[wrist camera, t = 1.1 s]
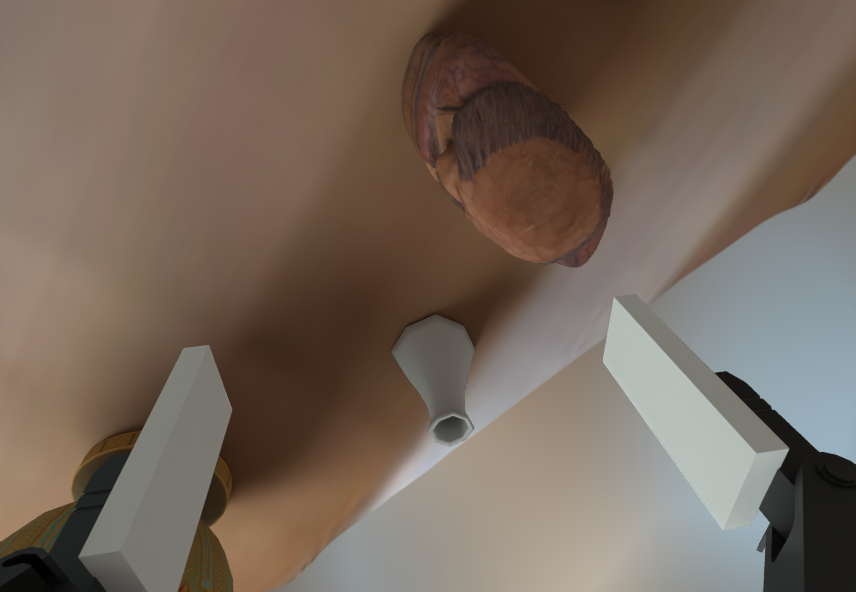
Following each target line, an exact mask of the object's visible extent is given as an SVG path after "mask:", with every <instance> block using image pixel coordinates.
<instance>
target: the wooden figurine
mask: <svg viewBox="0 0 856 592" xmlns="http://www.w3.org/2000/svg"><path fill="white" fill-rule="evenodd" d="M402 110H403V116H404V120H405V124H406V128H407V130H408V133H409V135H410V137H411V139H412V141H413V143H414V145H415V147H416V149H417V151H418V152H419V154H420V155H421V158H422V160H423V161H424V164H425V165H426V167H427V168H428V170H429V171H430V173H431V174H432V176H433V177H434V178H435V179H436V180H437V181H438V182H439V183H440V184H441V186H442V188H443V189H444V191H445V194H446V195H447V196H448V197H449V198H450V199H451V201H452V202H454V203H455V204H456V205H457V206H458V207H460V208H462V209H463V210H464V213H465V216H466V217H467V218H468V219H469V220H470V221H471V222H472V223H473V224H474V226H475V227H476V228H477V229H478V230H479V231H480V232H481V233H483V234H484V235H486V236H487V237H488V238H490V239H491V240H493V241H494V242H495V243H496V244H498V245H499V246H501V247H502V248H503V249H505V250H506V251H507V252H508V253H510V254H512V255H514V256H516V257H519V258H521V259H524V260H528V261H531V262H538V263H541V264H544V265H546V264H548V263H555V262H557V263H559V264H561V265H565V266H568V267H580V266H582V265H583V264H585V263H586V262H587V261H588V260H589V259H590V257H591V256H592V255H593V253H594V252H595V250H596V248H597V246H598V244H599V242H600V240H601V238H602V235H603V233H604V230H605V228H606V224H607V220H608V217H609V216H610V209H611V204H612V200H613V183H612V180H611V178H610V169H609V168H608V166H607V165H606V164H605V161H604V160H603V159H602V157H601V156H600V153H599V152H598V151H597V150H596V149H595V148H594V146H593V144H592V142H591V140H590V139H589V138H588V137H587V136H586V135H585V134H584V133H583V131H582V130H581V129H580V128H579V127H578V126H577V125H576V124H575V122H574V121H572V120H571V119H570V117H569V116H568V114H567V113H566V111H564V110H562V108H561V107H560V106H559V105H558V104H557V103H554V102H552V101H551V100H550V99H549V98H548V97H547V96H546V95H545V94H544V93H542V92H541V91H540V90H539V89H538V88H537V87H536V86H535V85H534V84H532V83H531V82H530V81H529V80H528V79H527V78H526V77H525V76H524V75H523V74H522V73H521V72H520V71H519V70H518V69H517V68H516V67H515V66H514V65H513V64H512V63H511V62H510V61H508V60H507V59H506V58H504V57H503V56H502V55H500V54H499V53H498V52H497V51H496V50H495V49H493V48H492V47H491V46H490V45H488V44H487V43H486V42H484V41H483V40H482V39H479V38H475V37H473V36H470V35H468V34H466V33H462V32H457V33H453V34H451V35H449V36H448V37H447V38H446V37H445V36H443V35H442V34H440V33H429V34H427V35H425V36H424V37H423V38H422V39H421V40H420V41H419V42H418V43H417V45H416V46H415V47H414V49H413V52H412V54H411V56H410V59H409V61H408V65H407V68H406V72H405V76H404V80H403V85H402Z"/></svg>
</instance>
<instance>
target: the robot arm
mask: <svg viewBox="0 0 856 592" xmlns="http://www.w3.org/2000/svg"><path fill="white" fill-rule="evenodd" d="M603 363H604V364H605V365H606V367H607V368H608V370H609V371H610V372H611V374H612V375H613V377H614V378H615V379H616V381H617V382H618V384H619V385H620V387H621V388H622V389H623V391H624V392H625V394H626V395H627V396H628V397H629V399H630V401H631V402H632V403H633V405H634V406H635V408H636V409H637V410H638V412H639V413H640V414H641V416H642V417H643V419H644V420H645V422H646V423H647V425H648V426H649V427H650V429H651V430H652V432H653V433H654V434H655V436H656V437H657V438H658V440H659V441H660V443H661V444H662V446H663V447H664V448H665V450H666V451H667V453H668V454H669V455H670V457H671V458H672V459H673V461H674V462H675V464H676V465H677V467H678V468H679V469H680V471H681V472H682V474H683V475H684V477H685V478H686V479H687V481H688V482H689V484H690V485H691V486H692V488H693V489H694V491H695V492H696V493H697V495H698V496H699V497H700V499H701V500H702V502H703V503H704V505H705V506H706V507H707V509H708V510H709V512H710V513H711V514H712V516H713V517H714V519H715V520H716V522H717V523H718V524H719V526H720V527H721V529H722V530H727V529H733V528H739V527H745V526H751V525H752V524H753V522H754V520H755V518H756V516H757V514H758V512H759V510H760V511H761V512H762V513H763V515H764V516H765V517H766V518H767V519H768V521H769V522H770V524H769V526H768V528H767V530H766V532H765V534H764V535H763V537H762V540H761V541H760V543H759V546H758V548H757V551H759V552H763V550H764V548H765V567H764V587H763V588H764V590H763V592H856V464H854V463H853V462H851V461H850V460H847V459H845V458H843V457H840V456H838V455H835V454H830V453H825V452H819V451H817V450H816V449H815V448H814V447H813V446H812V445H811V444H810V443H809V442H808V441H807V440H806V439H805V438H804V437H803V436H802V435H801V434H799V433H798V432H797V431H796V430H795V429H794V428H793V427H792V426H791V425H790V424H789V423H788V422H787V421H786V420H785V419H784V418H783V417H782V416H781V415H779V414H778V413H777V412H776V411H775V410H772V408H771V406H770V405H769V404H768V403H767V402H766V401H765V400H764V399H760V396H759V395H758V394H757V393H756V392H755V391H754V390H753V389H752V388H751V387H750V386H749V385H748V384H747V383H746V382H744V381H742V380H740V379H739V378H737V377H735V376H734V375H732V374H730V373H728V372H727V371H724V372H717V373H714V372H713V371H711V369H710V368H709V367H708V366H707V365H706V364H705V363H704V362H703V361H702V360H701V359H700V358H699V357H698V356H697V355H696V354H695V353H694V352H693V351H692V350H691V349H690V348H689V347H688V346H687V345H686V344H685V343H684V342H683V341H682V340H681V339H680V338H679V337H678V336H677V335H676V334H675V333H674V332H673V331H672V330H671V329H670V328H669V327H668V326H667V325H666V324H665V323H664V322H663V321H662V320H661V319H660V318H659V317H658V316H657V315H656V314H655V313H654V312H653V311H652V310H651V309H650V308H649V307H648V306H647V305H646V304H645V303H644V302H643V301H642V300H641V299H640V298H639V297H638V296H637V295H636V294H633V295H625V296H616V297H614V299H613V305H612V311H611V317H610V322H609V328H608V334H607V340H606V346H605V351H604V358H603ZM231 413H232V407H231V405H230V402H229V399H228V396H227V393H226V391H225V388H224V385H223V382H222V380H221V377H220V374H219V371H218V369H217V366H216V363H215V360H214V358H213V355H212V352H211V349H210V346H209V345H205V346H197V347H188V348H183V350H182V352H181V354H180V356H179V358H178V360H177V362H176V364H175V366H174V368H173V370H172V372H171V374H170V376H169V378H168V380H167V382H166V384H165V386H164V388H163V390H162V392H161V394H160V396H159V398H158V400H157V402H156V404H155V406H154V408H153V410H152V412H151V414H150V416H149V418H148V420H147V421H146V423H145V425H144V427H143V429H142V431H141V433H140V435H139V437H138V439H137V441H136V443H135V445H134V447H133V449H132V451H131V453H130V454H123V455H116V456H111V457H110V458H109V459H108V460H107V461H106V462H105V463H104V464H103V465H102V466H101V467H100V468H99V469H98V470H97V471H96V472H95V473H94V474H93V475H92V477H91V479H90V480H89V482H88V484H87V486H86V488H85V489H84V491H83V493H82V494H83V496H82V497H80V498H79V500H78V502H77V504H76V505H75V507H74V512H73V513H71V514H70V516H69V518H68V520H67V521H66V523H65V525H64V527H63V529H62V530H61V532H60V534H59V536H58V537H57V539H56V541H55V543H54V545H53V546H52V548H51V550H50V552H49V554H48V553H47V552H46V551H45V550H44V549H43V548H37V547H29V548H25V549H21V550H17V551H15V552H13V553H11V554H9V555H7V556H5V557H3V558H1V559H0V592H178V589H179V585H180V582H181V579H182V576H183V572H184V569H185V566H186V562H187V559H188V556H189V552H190V549H191V546H192V542H193V539H194V536H195V532H196V529H197V526H198V523H199V519H200V516H201V513H202V509H203V506H204V503H205V499H206V496H207V493H208V489H209V486H210V483H211V480H212V476H213V473H214V470H215V466H216V463H217V460H218V456H219V453H220V450H221V446H222V443H223V440H224V436H225V433H226V430H227V427H228V423H229V420H230V417H231ZM765 546H766V547H765Z"/></svg>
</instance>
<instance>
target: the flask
mask: <svg viewBox="0 0 856 592" xmlns="http://www.w3.org/2000/svg"><path fill="white" fill-rule="evenodd" d="M474 351H475V348H474V346H473V344H472V342H471V340H470V337H469V335H468V333H467V331H466V329H465V327H464V326H463V325H461V324H459V323H456V322H454V321H451V320H449V319H447V318H444V317H442V316H439V315H437V314H435V315H433V316H430V317H428V318H426V319H423V320H421V321H419V322H417V323H414V324H412V325H410V326H407V327H406V328H405V329H404V331H403V333H402V334H401V336H400V337H399V339H398V341H397V342H396V344H395V345H394V347H393V348H392V350H391V353H392V354H393V356H394V358H395V359H396V361H397V363H398V364H399V366H400V367H401V369H402V371H403V372H404V374H405V375H406V377H407V378H408V379H409V381H410V382H411V383H412V384H413V386H414V387H415V388H416V389H417V391H418V392H419V393H420V395H421V396H422V398H423V399H424V402H425V404H426V406H427V408H428V411H429V415H430V420H431V423H430V425H429V426H428V432H429V433H430V435H431V436H432V438H433V439H434V441H435V442H437V443H440V444H443V445H447V446H452V445H454V444H457V443H459V442H462V441H464V440H466V438H467V437H468V436H469V435H470V433H471V432H472V431H473V429H474V426H473V424H472V423H471V421H470V419H469V417H468V415H467V414H466V412H465V389H466V384H467V379H468V374H469V370H470V366H471V363H472V359H473V355H474Z"/></svg>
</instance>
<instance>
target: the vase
mask: <svg viewBox="0 0 856 592" xmlns="http://www.w3.org/2000/svg"><path fill="white" fill-rule="evenodd" d="M140 433H141V431H137V432H130V433H123V434H119V435H117V436H114V437H111V438H108V439H106V440H103V441H102V442H101V443H99V444H98V445H96V446H95V447H93V448H92V449H91V450H90V451H89V452H88V454H87V455H86V457H85V458H84V459H83V461H82V463H81V464H80V466H79V467H78V469H77V471H76V472H75V474H74V475H73V479H72V484H71V493H72V497H73V501H74V502H73V503H70V504H67V505H64V506H61V507H59V508H56V509H53V510H50V511H48V512H45V513H43V514H42V515H40V516H39V517H37V518H36V519H34V520H33V521H31V522H30V523H28V524H27V525H25V526H24V527H22V528H21V529H19V530H18V531H16V532H15V533H13V534H12V535H10V536H9V537H7V538H6V539H4V540H3V541H1V542H0V559H1V558H3V557H5V556H7V555H9V554H11V553H13V552H15V551H17V550H21V549H25V548H29V547H37V548H43V549H44V550H45V551H46V552H47V553H48V554H49V552H50V550H51V548H52V546H53V545H54V543H55V541H56V539H57V537H58V536H59V534H60V532H61V530H62V529H63V527H64V525H65V523H66V521H67V520H68V518H69V516H70V514H71V513H73V512H74V507H75V505H76V504H77V502H78V500H79V498H80V497H82V496H83V494H82V493H83V491H84V489H85V488H86V486H87V484H88V482H89V480H90V479H91V477H92V475H93V474H94V473H95V472H96V471H97V470H98V469H99V468H100V467H101V466H102V465H103V464H104V463H105V462H106V461H107V460H108V459H109V458H110V457H111V456H116V455H123V454H130V453H131V451H132V449H133V447H134V445H135V443H136V441H137V439H138V437H139V435H140ZM231 490H232V475H231V473H230V471H229V468H228V466H227V464H226V463H225V462H224V461H223V460H222V458H221V457H220V456H218V460H217V463H216V466H215V470H214V473H213V476H212V480H211V483H210V486H209V489H208V493H207V496H206V499H205V503H204V506H203V509H202V513H201V516H200V519H199V523H198V526H197V529H196V532H195V536H194V539H193V542H192V546H191V549H190V552H189V556H188V559H187V562H186V566H185V569H184V572H183V576H182V579H181V582H180V585H179V589H178V592H233V578H232V575H231V572H230V568H229V565H228V562H227V558H226V555H225V552H224V550H223V548H222V546H221V544H220V542H219V540H218V538H217V537H216V536H215V534H214V533H213V532H212V531H211V529H210V528H209V527H210V526H212V525H213V524H215V523H216V522H217V521H218V520H219V519H220V517H221V516H222V515H223V514H224V512H225V509H226V507H227V505H228V502H229V498H230V494H231Z"/></svg>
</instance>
